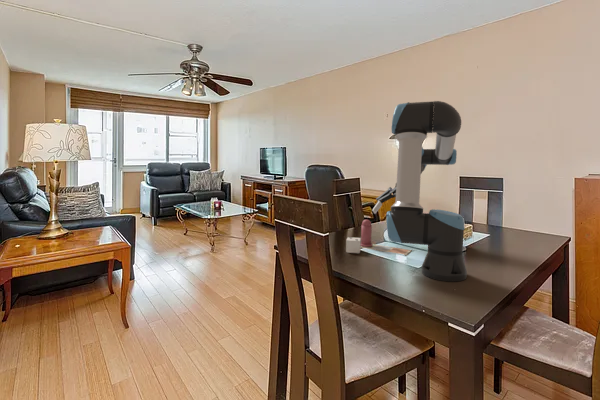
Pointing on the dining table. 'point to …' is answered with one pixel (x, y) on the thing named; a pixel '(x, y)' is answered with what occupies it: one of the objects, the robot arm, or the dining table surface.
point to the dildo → (366, 233)
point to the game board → (389, 249)
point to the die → (353, 245)
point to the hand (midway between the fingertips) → (383, 214)
